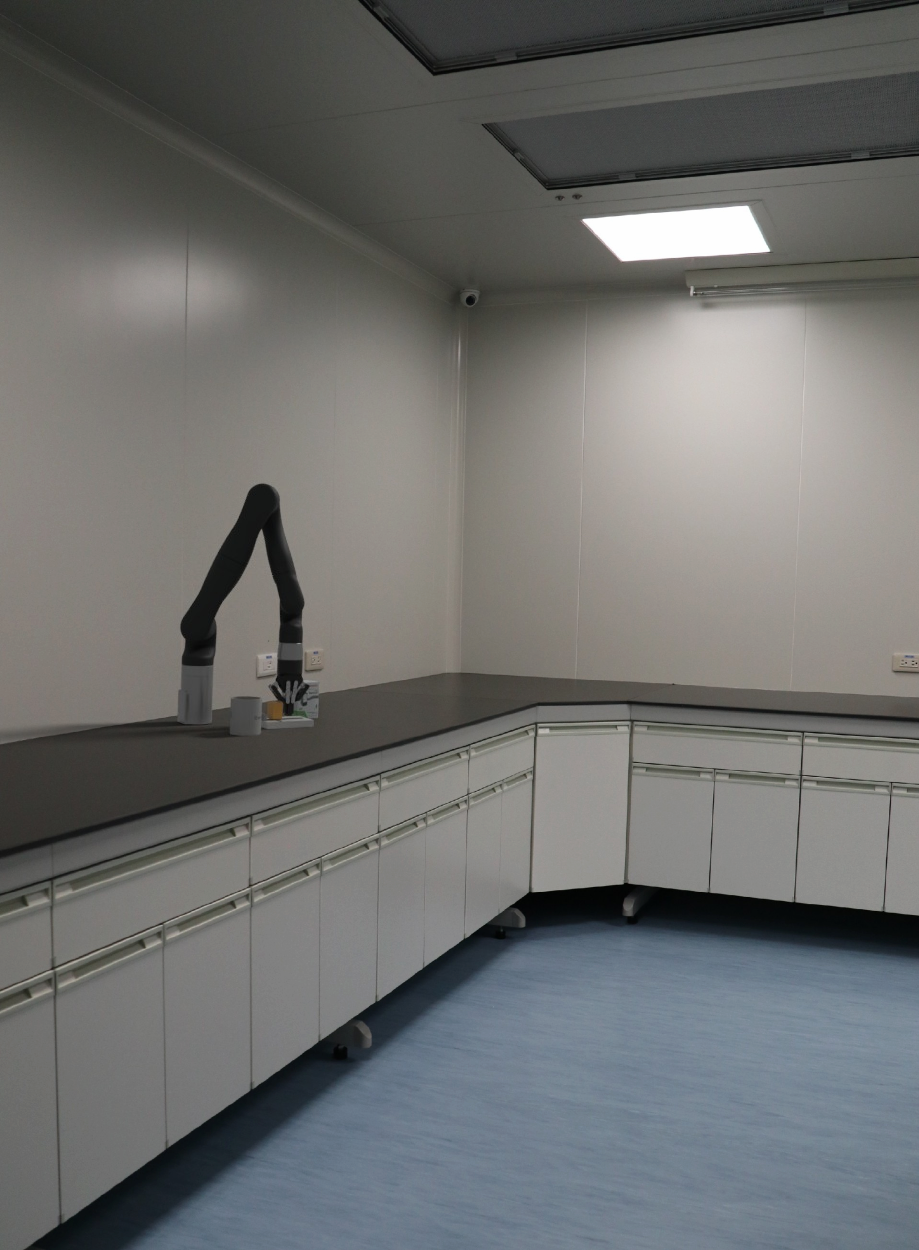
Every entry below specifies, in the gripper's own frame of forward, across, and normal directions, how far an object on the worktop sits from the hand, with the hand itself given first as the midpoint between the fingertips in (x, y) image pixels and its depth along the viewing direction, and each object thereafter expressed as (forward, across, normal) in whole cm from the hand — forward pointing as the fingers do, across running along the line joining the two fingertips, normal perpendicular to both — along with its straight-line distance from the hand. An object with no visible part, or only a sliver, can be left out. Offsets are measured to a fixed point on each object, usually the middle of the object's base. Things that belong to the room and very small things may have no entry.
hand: (288, 715), depth 312 cm
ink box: (+3, +12, +13) cm, 18 cm away
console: (+3, -2, 0) cm, 3 cm away
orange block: (0, -4, 0) cm, 4 cm away
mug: (+3, -16, -9) cm, 19 cm away
